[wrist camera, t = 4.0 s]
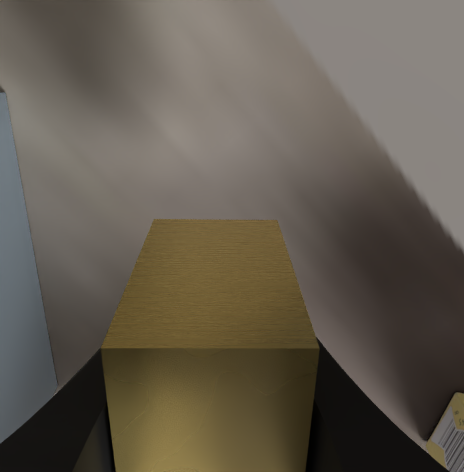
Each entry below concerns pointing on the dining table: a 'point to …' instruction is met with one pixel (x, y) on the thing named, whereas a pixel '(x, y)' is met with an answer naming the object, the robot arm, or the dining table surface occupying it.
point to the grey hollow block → (19, 301)
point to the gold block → (211, 353)
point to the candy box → (449, 436)
